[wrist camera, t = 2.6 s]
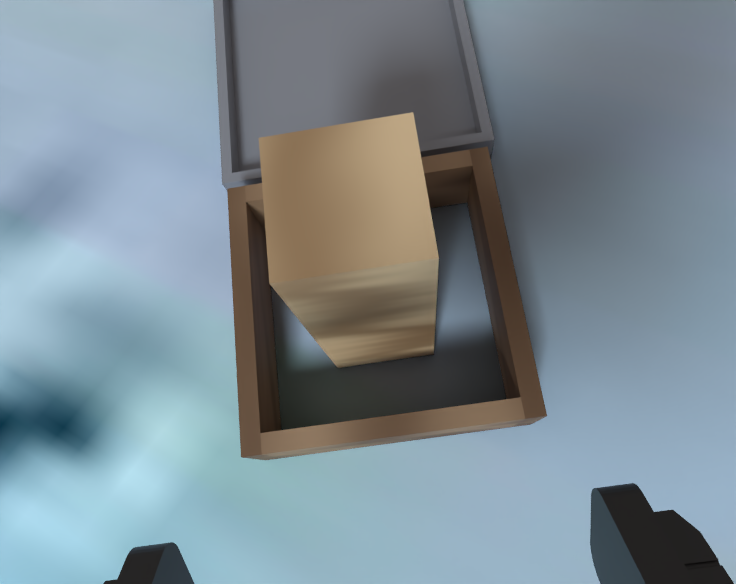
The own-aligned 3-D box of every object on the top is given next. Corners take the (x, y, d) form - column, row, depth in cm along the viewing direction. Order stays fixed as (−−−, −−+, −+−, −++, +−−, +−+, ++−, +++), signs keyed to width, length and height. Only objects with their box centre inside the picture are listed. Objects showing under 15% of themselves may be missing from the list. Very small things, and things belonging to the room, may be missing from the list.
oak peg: (419, 264, 27) (413, 112, 16) (433, 354, 26) (438, 257, 15) (328, 278, 28) (258, 137, 16) (337, 368, 26) (269, 283, 15)
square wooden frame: (480, 185, 28) (487, 146, 25) (530, 424, 25) (546, 415, 21) (250, 221, 29) (227, 188, 26) (265, 459, 25) (241, 457, 22)
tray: (446, -37, 33) (447, -68, 31) (490, 161, 29) (494, 139, 27) (224, 3, 33) (212, -25, 32) (235, 202, 29) (222, 183, 27)
